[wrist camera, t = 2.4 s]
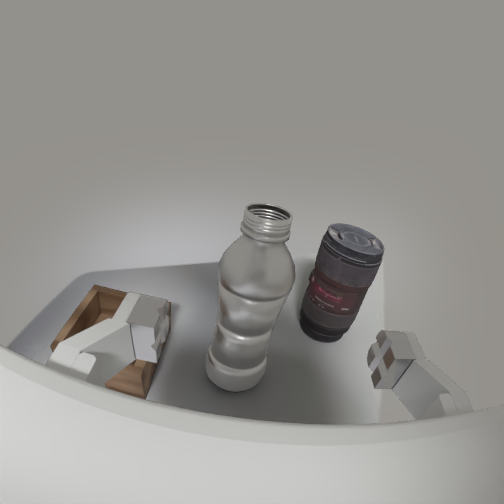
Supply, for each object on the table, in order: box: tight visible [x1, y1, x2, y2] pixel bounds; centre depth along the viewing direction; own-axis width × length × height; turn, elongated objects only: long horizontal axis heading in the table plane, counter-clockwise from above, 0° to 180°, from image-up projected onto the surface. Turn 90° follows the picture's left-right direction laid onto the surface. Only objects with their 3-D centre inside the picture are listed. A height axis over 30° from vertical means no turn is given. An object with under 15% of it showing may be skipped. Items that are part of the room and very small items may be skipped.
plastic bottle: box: [205, 203, 295, 392], centre depth 28 cm, size 6×7×20 cm
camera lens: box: [300, 223, 384, 343], centre depth 39 cm, size 8×8×15 cm
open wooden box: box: [50, 285, 171, 399], centre depth 31 cm, size 12×10×4 cm
